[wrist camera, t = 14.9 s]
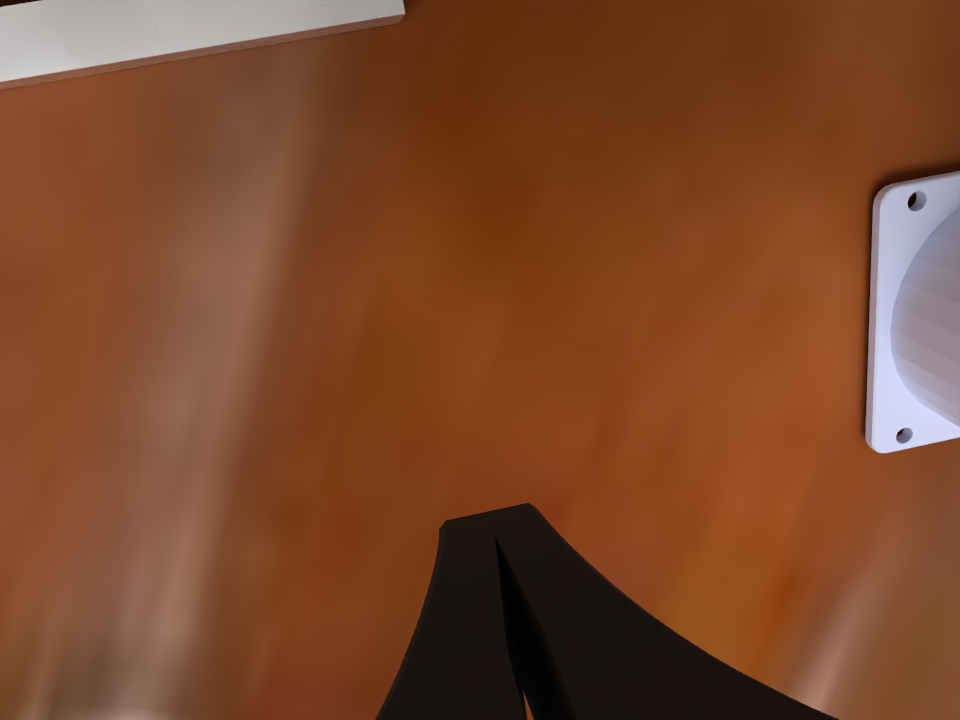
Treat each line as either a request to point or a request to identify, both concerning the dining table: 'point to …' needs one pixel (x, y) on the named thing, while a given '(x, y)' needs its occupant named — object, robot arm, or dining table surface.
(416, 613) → the dining table surface
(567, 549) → the robot arm
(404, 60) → the dining table surface
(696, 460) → the dining table surface
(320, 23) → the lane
